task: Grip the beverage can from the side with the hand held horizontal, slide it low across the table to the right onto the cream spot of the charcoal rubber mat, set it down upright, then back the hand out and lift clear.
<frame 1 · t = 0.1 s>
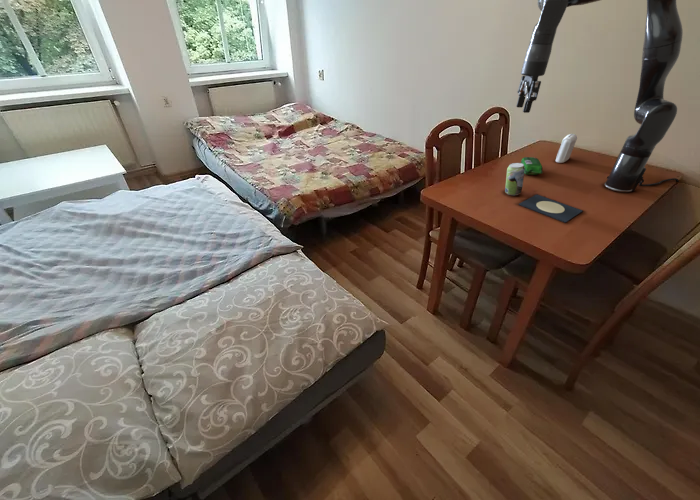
hand: (522, 109, 121), 29 cm above the table, tool pointing down, fingers open, 8 cm apart
beverage can: (510, 193, 130), on the table
snack package: (529, 172, 147), on the table
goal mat: (549, 208, 119), on the table
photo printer: (561, 160, 158), on the table
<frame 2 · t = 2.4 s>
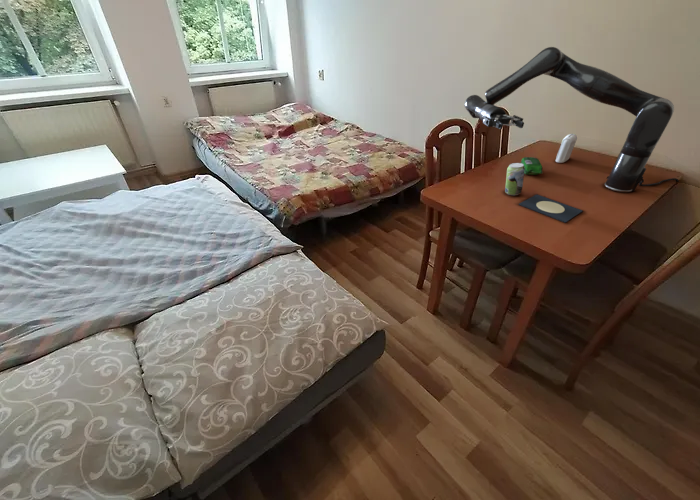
hand: (512, 125, 125), 23 cm above the table, tool horizontal, fingers open, 8 cm apart
nothing on the table moved.
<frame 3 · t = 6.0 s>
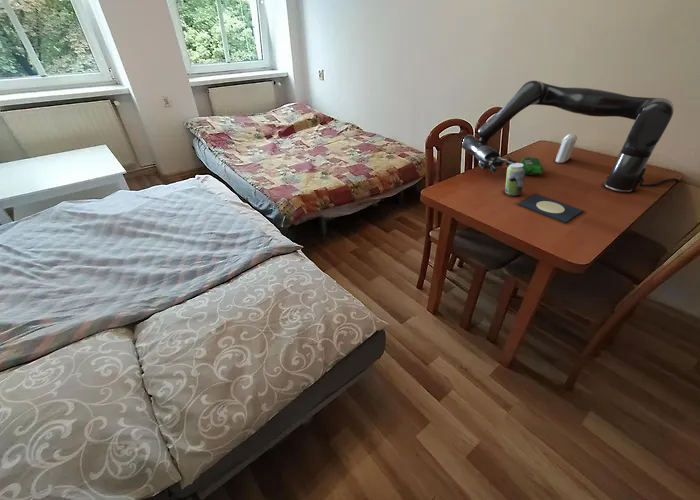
hand: (505, 169, 132), 7 cm above the table, tool horizontal, fingers open, 8 cm apart
nothing on the table moved.
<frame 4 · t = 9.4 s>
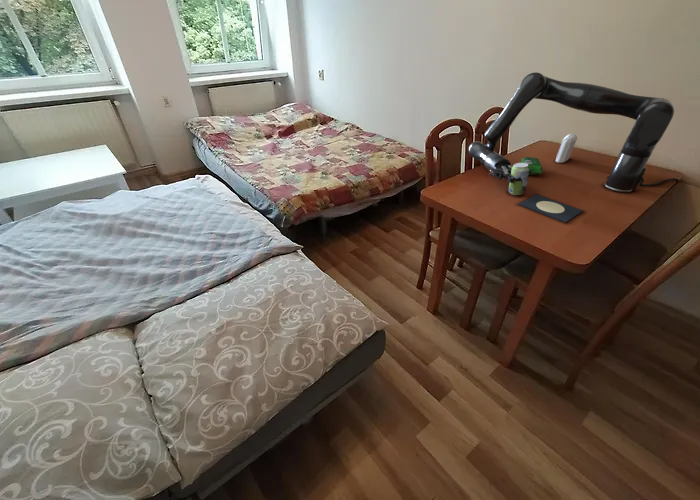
hand: (518, 180, 123), 7 cm above the table, tool horizontal, fingers closed on beverage can, 3 cm apart
beverage can: (514, 193, 129), on the table, touching gripper
everything else where it was.
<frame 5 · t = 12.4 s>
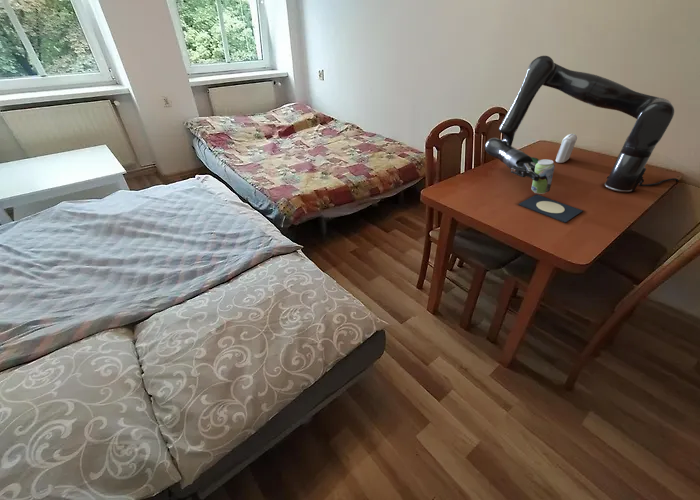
hand: (543, 178, 116), 10 cm above the table, tool horizontal, fingers closed on beverage can, 3 cm apart
beverage can: (537, 192, 123), point 3 cm above the table, touching gripper
everything else where it was.
when the fingers open (7 cm above the table, at t = 15.7 s): beverage can stays where it is, resting on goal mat.
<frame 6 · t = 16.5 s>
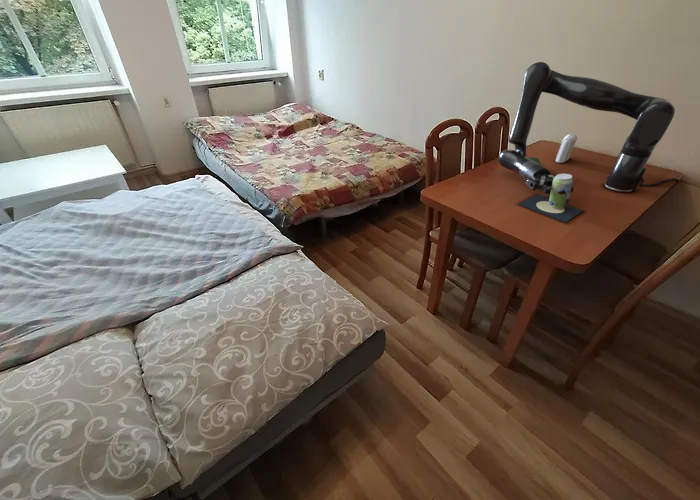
hand: (560, 191, 113), 8 cm above the table, tool horizontal, fingers open, 8 cm apart
beverage can: (554, 206, 119), resting on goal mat
everything else where it was.
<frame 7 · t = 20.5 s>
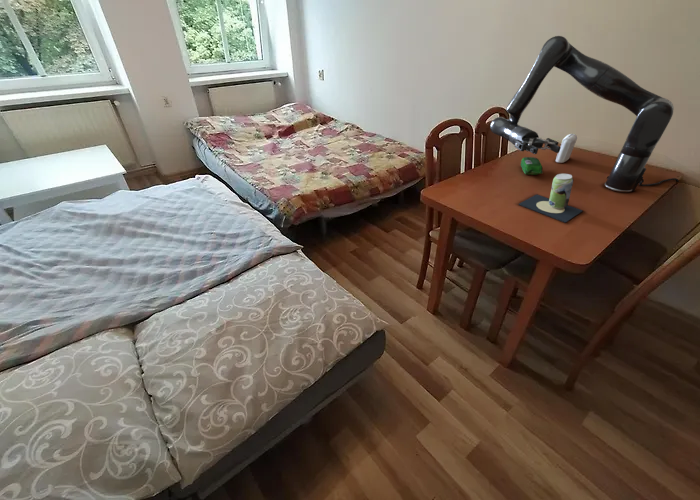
hand: (547, 150, 118), 18 cm above the table, tool horizontal, fingers open, 8 cm apart
nothing on the table moved.
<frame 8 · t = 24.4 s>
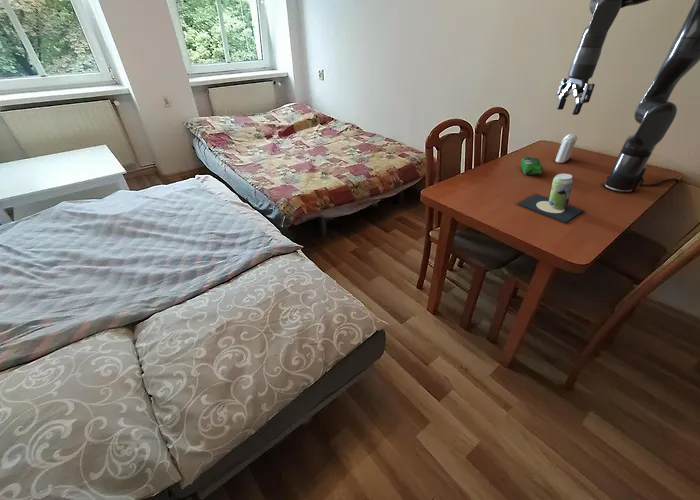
hand: (567, 111, 122), 28 cm above the table, tool pointing down, fingers open, 8 cm apart
nothing on the table moved.
at the end: beverage can 1.9 cm from the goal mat (horizontally); beverage can tilted 0°; the gripper is holding nothing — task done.
